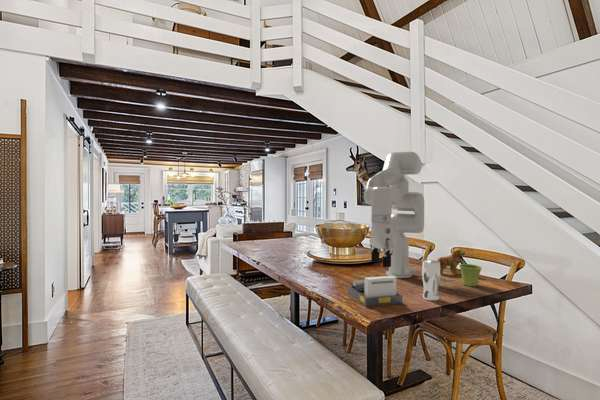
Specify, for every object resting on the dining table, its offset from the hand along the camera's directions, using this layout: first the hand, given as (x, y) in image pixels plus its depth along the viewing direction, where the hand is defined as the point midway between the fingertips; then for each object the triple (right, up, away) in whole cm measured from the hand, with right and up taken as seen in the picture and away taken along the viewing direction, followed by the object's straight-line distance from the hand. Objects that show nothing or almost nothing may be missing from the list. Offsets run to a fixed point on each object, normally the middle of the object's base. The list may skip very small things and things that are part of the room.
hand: (380, 264), depth 126 cm
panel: (0, -14, 0) cm, 14 cm away
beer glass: (+21, -15, +5) cm, 27 cm away
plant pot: (+47, -15, +25) cm, 55 cm away
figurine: (+47, -14, +45) cm, 67 cm away
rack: (-1, -15, +6) cm, 16 cm away
